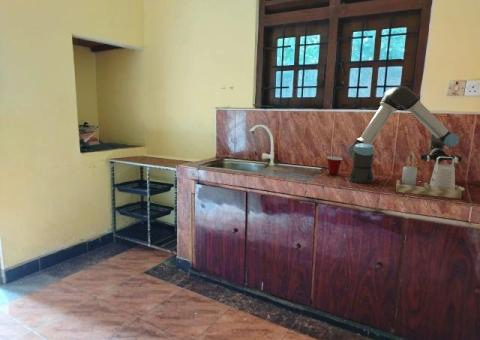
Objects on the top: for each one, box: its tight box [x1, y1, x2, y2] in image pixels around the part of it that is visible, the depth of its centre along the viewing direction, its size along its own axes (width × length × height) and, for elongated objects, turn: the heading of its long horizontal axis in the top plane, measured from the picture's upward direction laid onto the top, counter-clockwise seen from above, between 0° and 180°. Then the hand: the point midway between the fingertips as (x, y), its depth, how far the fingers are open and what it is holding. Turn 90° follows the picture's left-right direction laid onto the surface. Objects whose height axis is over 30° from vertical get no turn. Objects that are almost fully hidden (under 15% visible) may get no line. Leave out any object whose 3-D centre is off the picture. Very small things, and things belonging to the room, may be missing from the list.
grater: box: [428, 157, 456, 190], centre depth 164 cm, size 10×10×20 cm
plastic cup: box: [326, 155, 343, 175], centre depth 216 cm, size 11×11×12 cm
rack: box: [395, 179, 463, 200], centre depth 168 cm, size 30×14×4 cm, turn 63°
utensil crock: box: [400, 153, 418, 186], centre depth 171 cm, size 7×7×20 cm
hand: (442, 160), depth 173 cm, fingers open, 13 cm apart
